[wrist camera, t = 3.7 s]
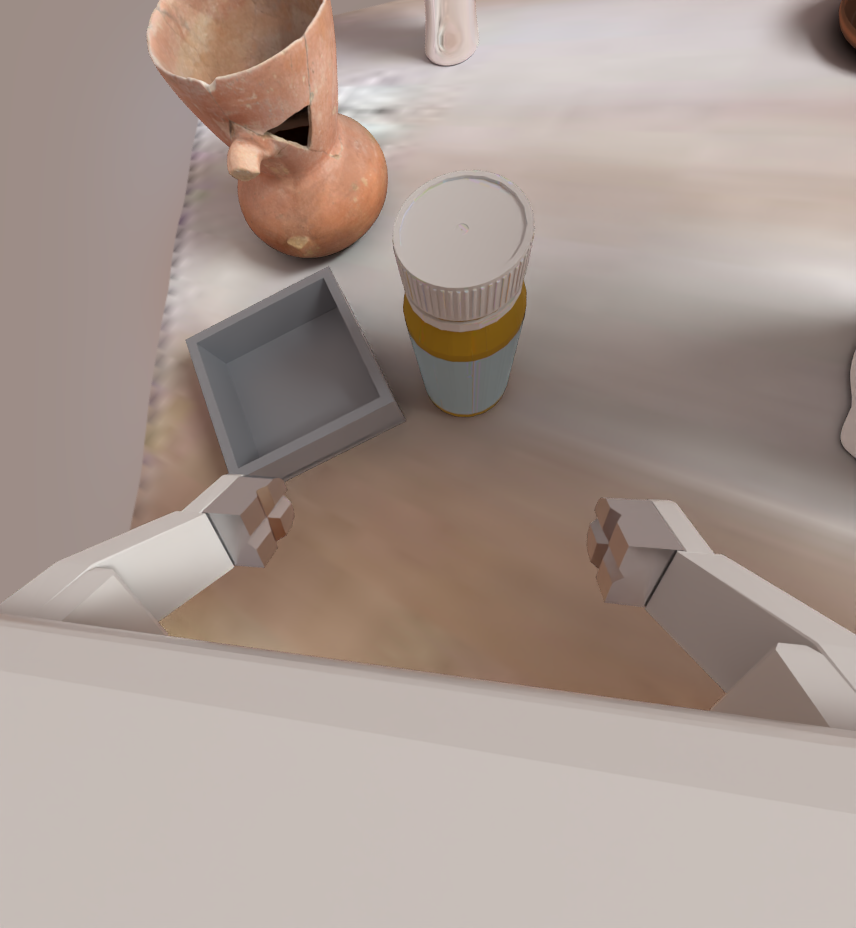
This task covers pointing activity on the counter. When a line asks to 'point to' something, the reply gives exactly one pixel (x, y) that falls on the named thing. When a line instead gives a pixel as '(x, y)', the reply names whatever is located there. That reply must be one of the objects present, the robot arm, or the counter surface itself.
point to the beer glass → (450, 31)
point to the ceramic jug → (275, 116)
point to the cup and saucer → (848, 20)
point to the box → (292, 381)
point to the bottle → (464, 284)
